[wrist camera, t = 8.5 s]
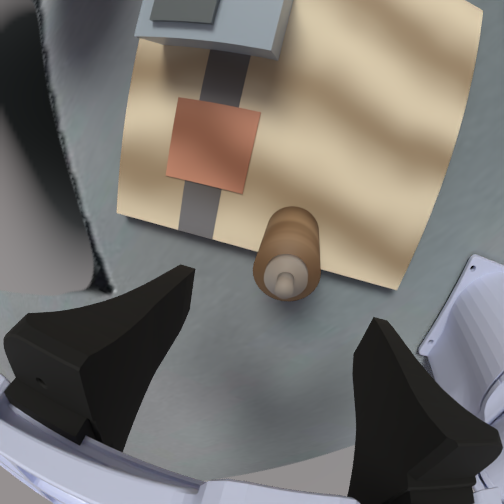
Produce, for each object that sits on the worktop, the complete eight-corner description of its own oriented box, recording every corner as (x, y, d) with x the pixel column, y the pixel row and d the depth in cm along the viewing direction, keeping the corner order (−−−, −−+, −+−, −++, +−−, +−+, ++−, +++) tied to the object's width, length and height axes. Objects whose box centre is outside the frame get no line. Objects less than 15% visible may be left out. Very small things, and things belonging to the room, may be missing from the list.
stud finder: (278, 60, 16) (269, 49, 12) (163, 44, 16) (130, 35, 12) (295, -8, 13) (291, -34, 10) (179, -19, 14) (151, -40, 10)
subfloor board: (393, 281, 21) (396, 291, 20) (125, 207, 22) (116, 213, 21) (475, 14, 12) (483, 10, 11) (176, -57, 13) (169, -64, 12)
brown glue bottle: (310, 260, 21) (307, 328, 15) (261, 247, 21) (240, 310, 15) (325, 214, 19) (331, 269, 13) (273, 200, 19) (255, 249, 13)
